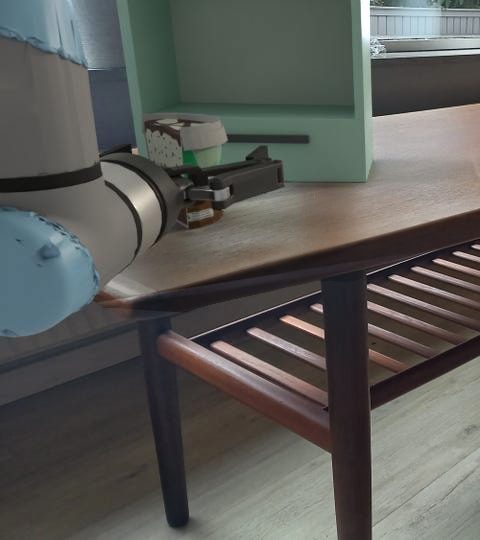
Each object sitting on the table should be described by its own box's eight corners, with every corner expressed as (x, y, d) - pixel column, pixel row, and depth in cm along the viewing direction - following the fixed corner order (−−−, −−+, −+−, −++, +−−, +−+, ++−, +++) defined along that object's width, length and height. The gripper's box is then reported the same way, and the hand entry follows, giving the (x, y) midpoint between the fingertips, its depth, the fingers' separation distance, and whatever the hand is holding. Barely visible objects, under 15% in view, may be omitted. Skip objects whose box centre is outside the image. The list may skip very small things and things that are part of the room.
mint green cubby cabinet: (366, 183, 89) (359, -28, 80) (139, 181, 86) (108, -37, 78) (373, 159, 104) (368, -20, 96) (181, 157, 102) (159, -27, 93)
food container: (254, 222, 70) (246, 123, 67) (194, 232, 66) (182, 128, 63) (208, 198, 79) (198, 109, 76) (151, 206, 75) (139, 113, 72)
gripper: (-55, 258, 51) (77, 192, 71) (286, 258, 54) (321, 194, 74) (-79, 158, 49) (64, 118, 69) (279, 162, 51) (318, 122, 71)
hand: (197, 157), depth 71 cm, fingers open, 13 cm apart
